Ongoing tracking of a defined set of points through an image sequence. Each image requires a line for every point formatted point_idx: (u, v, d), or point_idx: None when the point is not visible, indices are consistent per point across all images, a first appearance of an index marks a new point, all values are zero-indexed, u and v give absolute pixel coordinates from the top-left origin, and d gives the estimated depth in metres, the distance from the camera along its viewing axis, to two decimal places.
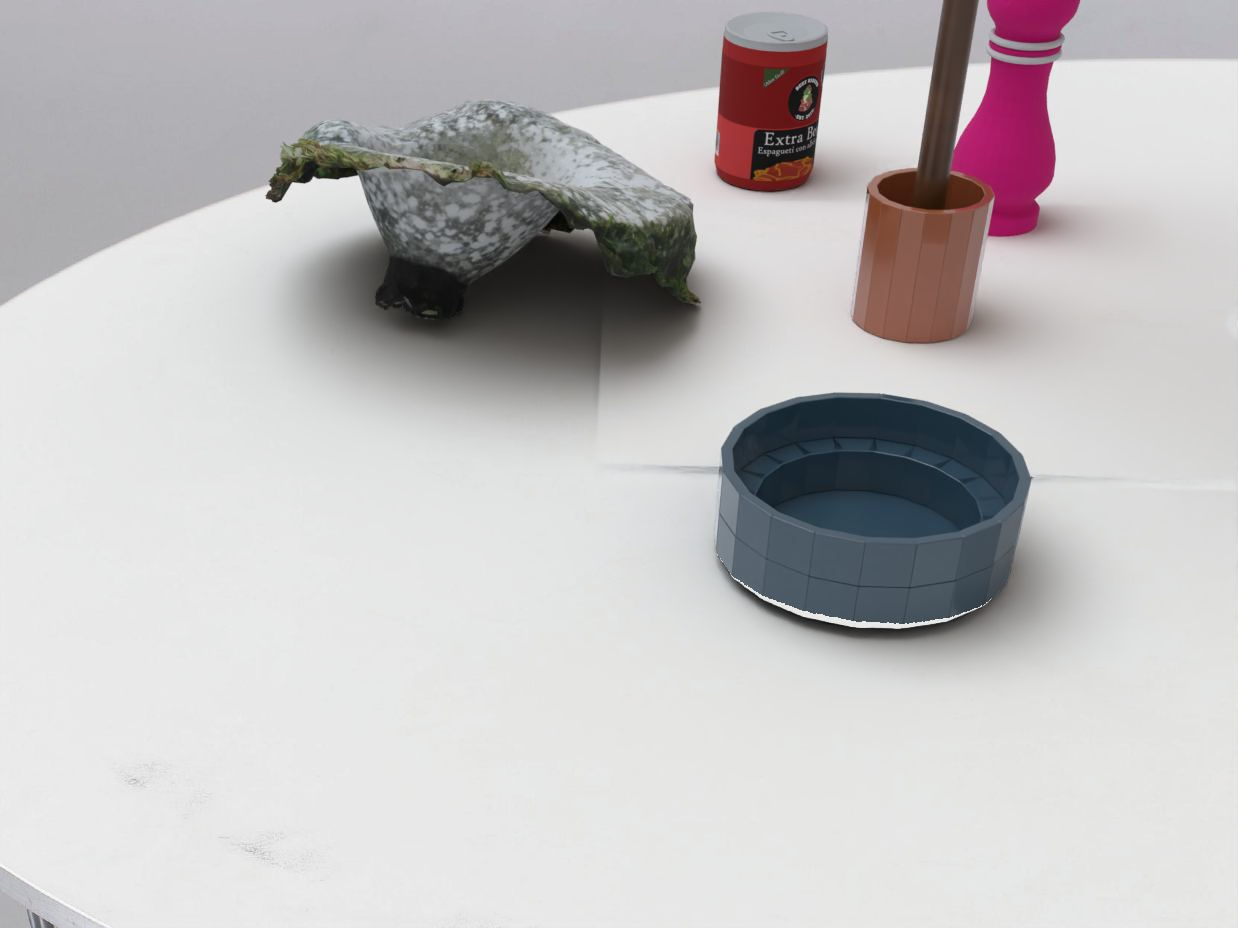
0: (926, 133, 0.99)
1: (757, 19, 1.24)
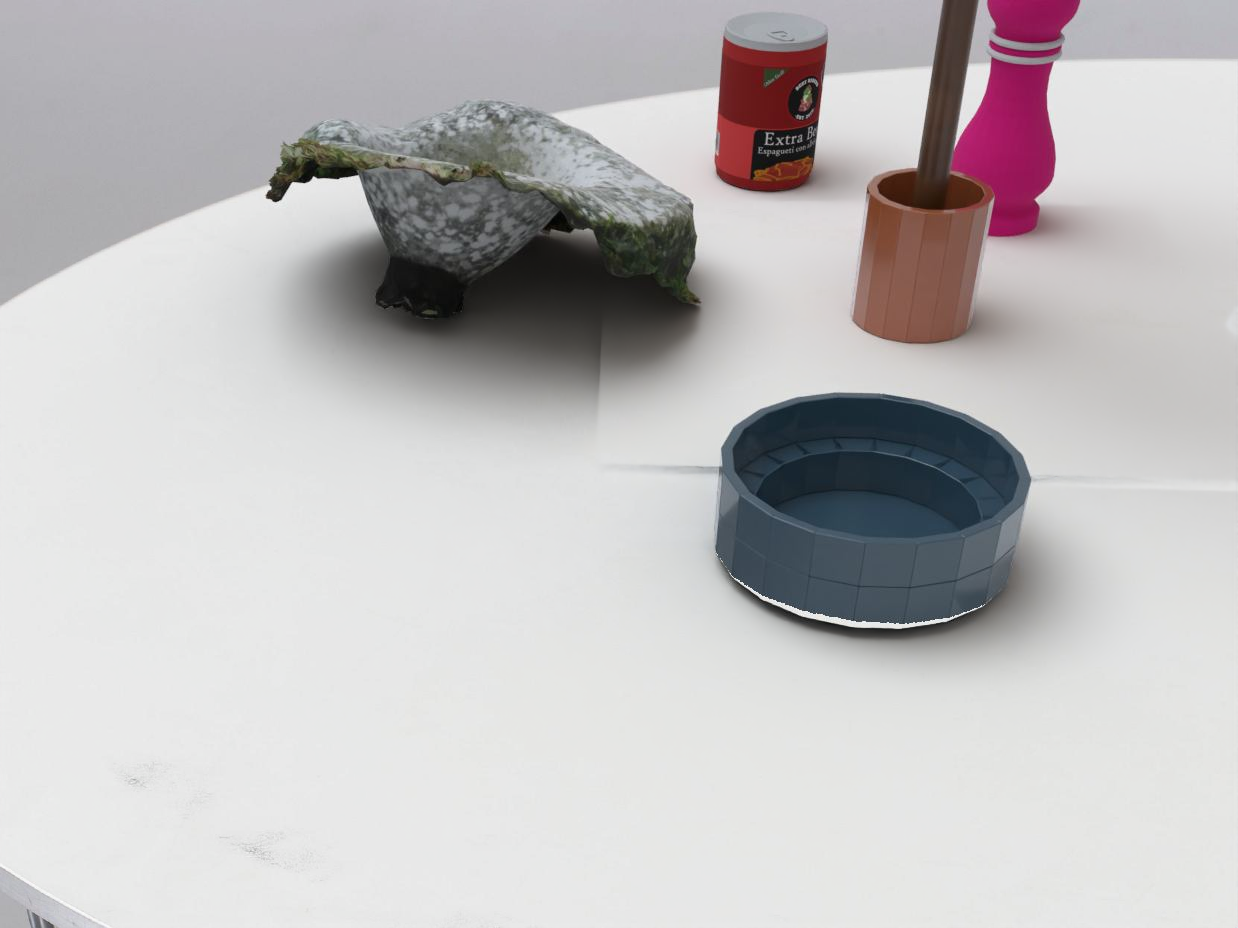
0: (926, 133, 0.99)
1: (757, 19, 1.24)
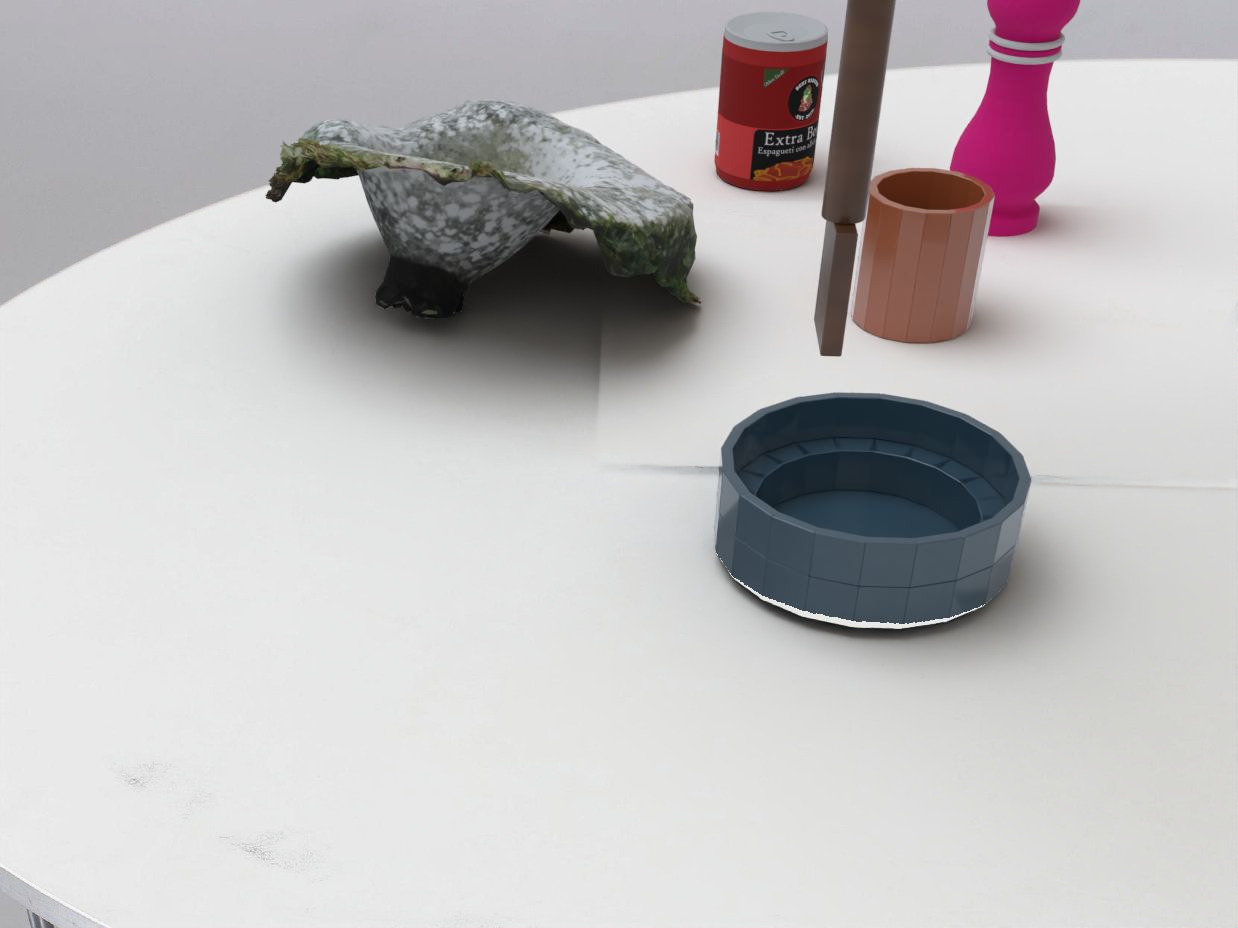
0: (841, 84, 0.71)
1: (757, 19, 1.24)
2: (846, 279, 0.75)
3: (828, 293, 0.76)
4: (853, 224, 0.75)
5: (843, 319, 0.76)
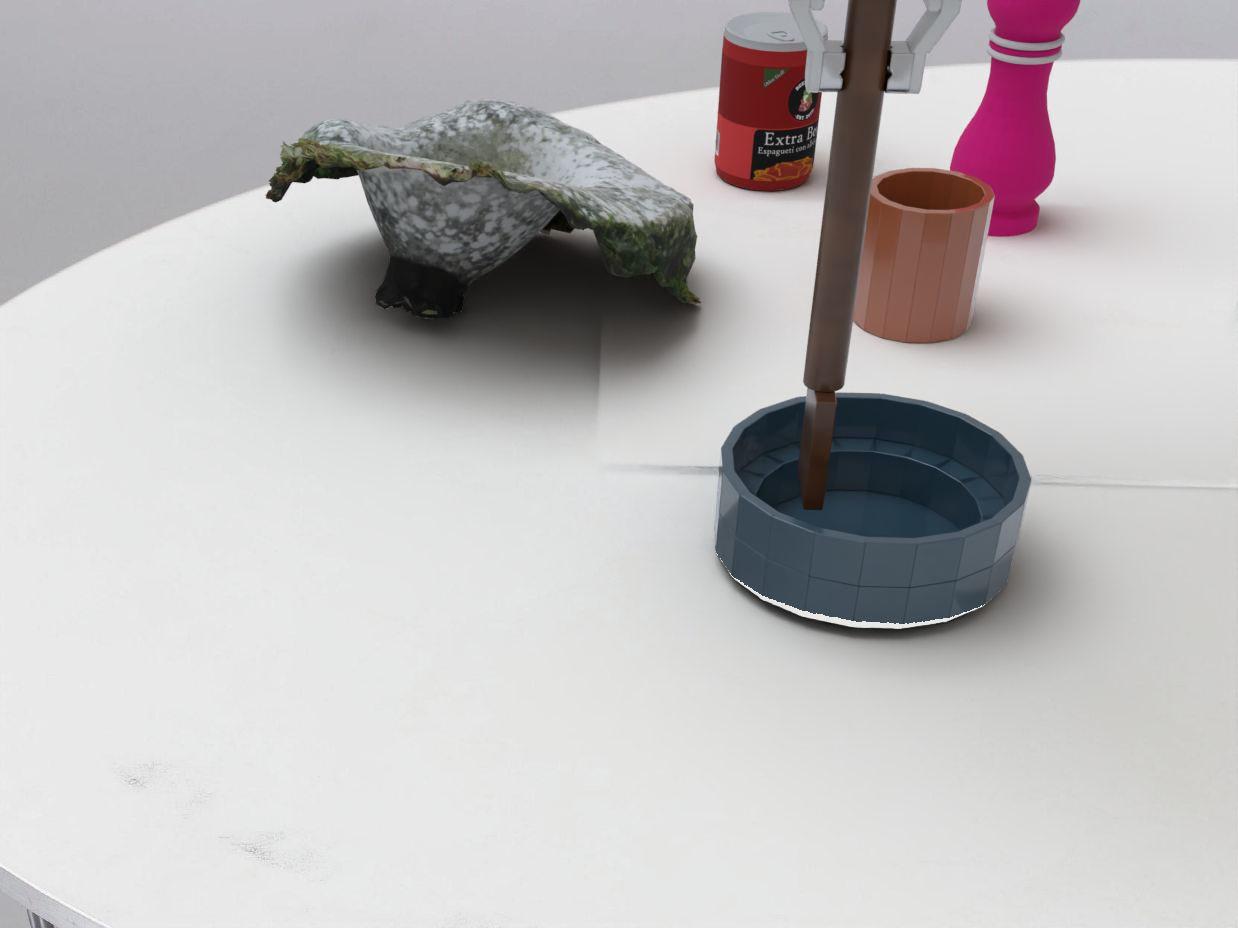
0: (820, 269, 0.76)
1: (757, 19, 1.24)
2: (826, 442, 0.80)
3: (810, 454, 0.81)
4: (832, 392, 0.80)
5: (824, 477, 0.82)
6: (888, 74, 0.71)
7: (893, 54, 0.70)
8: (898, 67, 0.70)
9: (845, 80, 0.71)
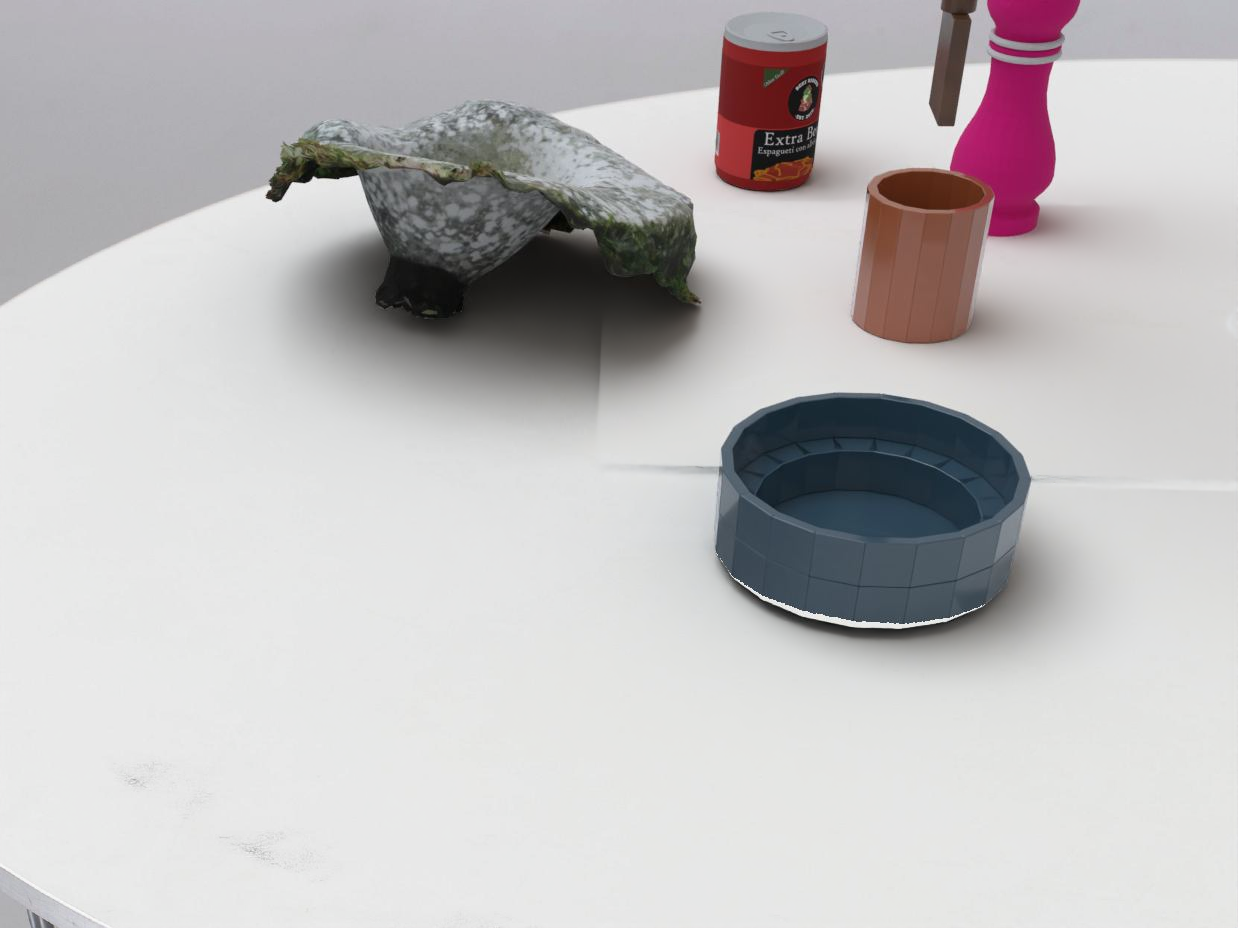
0: None
1: (757, 19, 1.24)
2: (961, 59, 0.95)
3: (946, 71, 0.95)
4: (967, 14, 0.94)
5: (957, 93, 0.96)
6: None
7: None
8: None
9: None
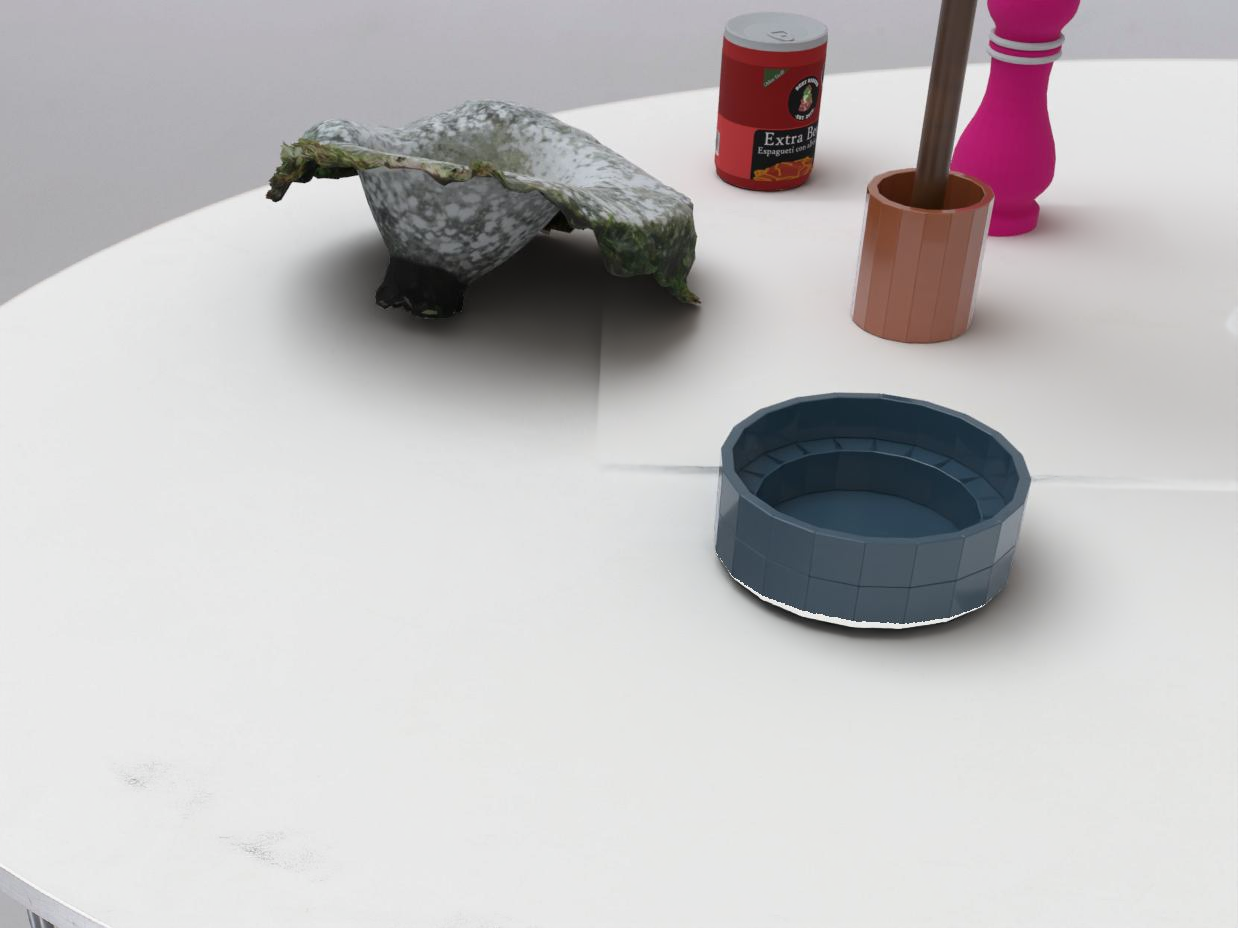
0: (925, 132, 0.99)
1: (756, 19, 1.24)
2: None
3: None
4: None
5: None
6: None
7: None
8: None
9: None
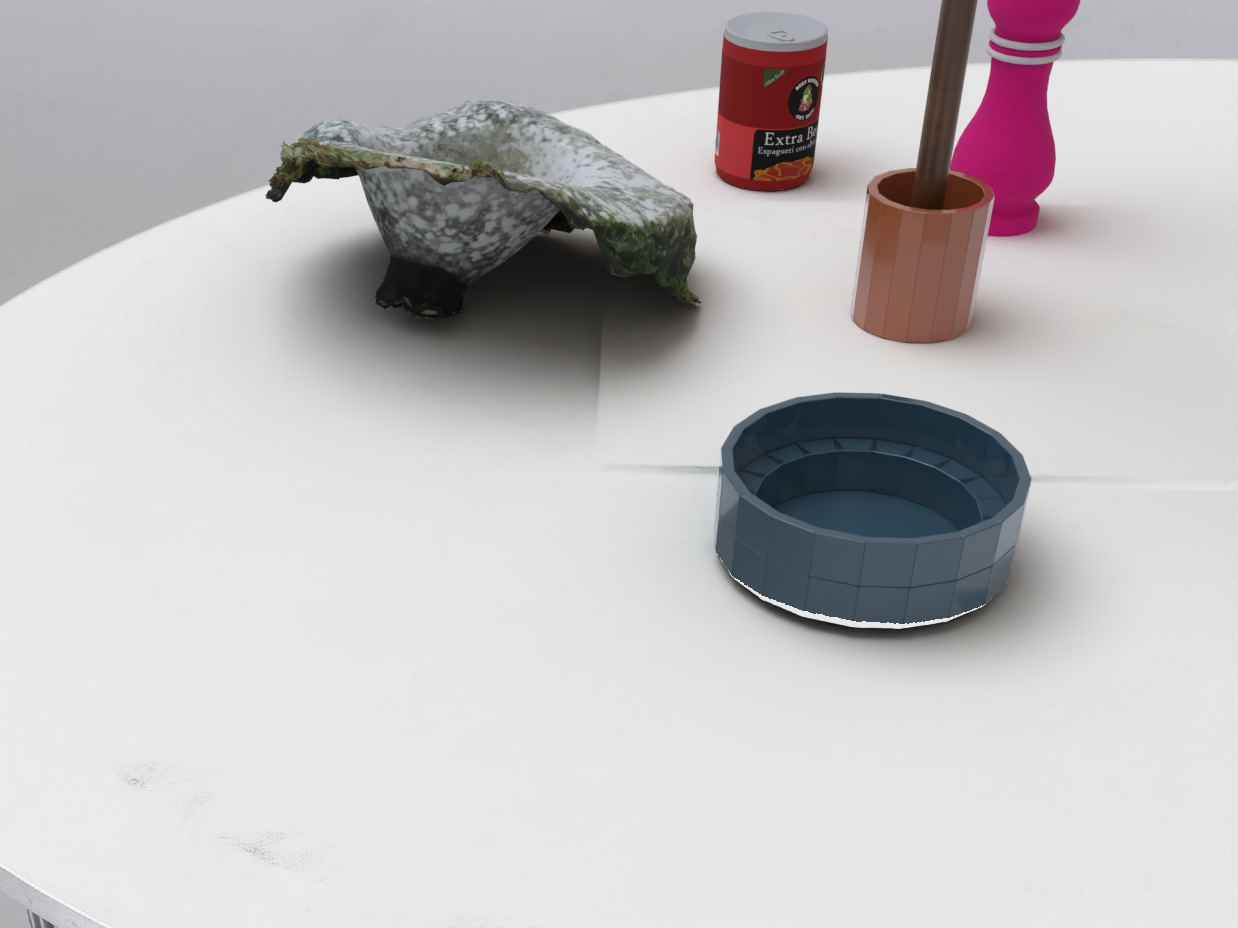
0: (925, 132, 0.99)
1: (756, 19, 1.24)
2: None
3: None
4: None
5: None
6: None
7: None
8: None
9: None
